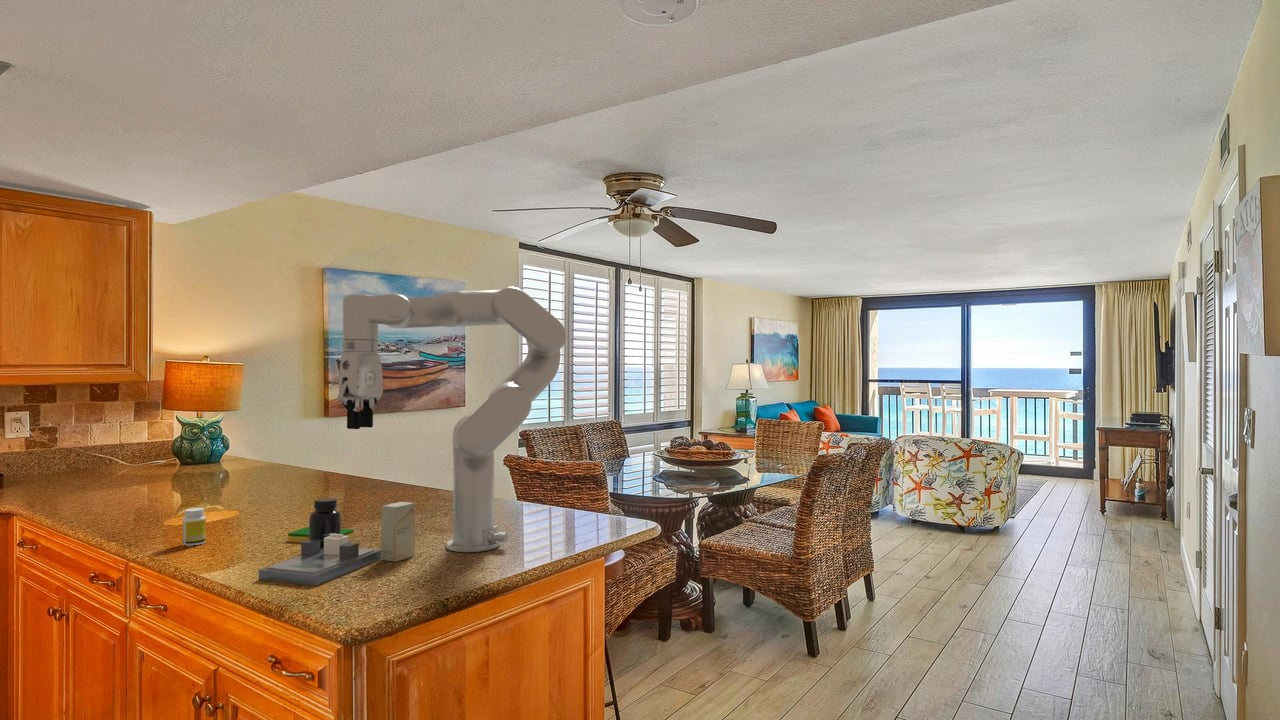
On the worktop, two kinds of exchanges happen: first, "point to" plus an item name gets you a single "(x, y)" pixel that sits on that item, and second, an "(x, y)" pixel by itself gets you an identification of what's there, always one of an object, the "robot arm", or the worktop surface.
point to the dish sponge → (304, 534)
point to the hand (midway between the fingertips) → (360, 427)
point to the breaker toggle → (334, 543)
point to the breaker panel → (319, 564)
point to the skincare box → (398, 531)
